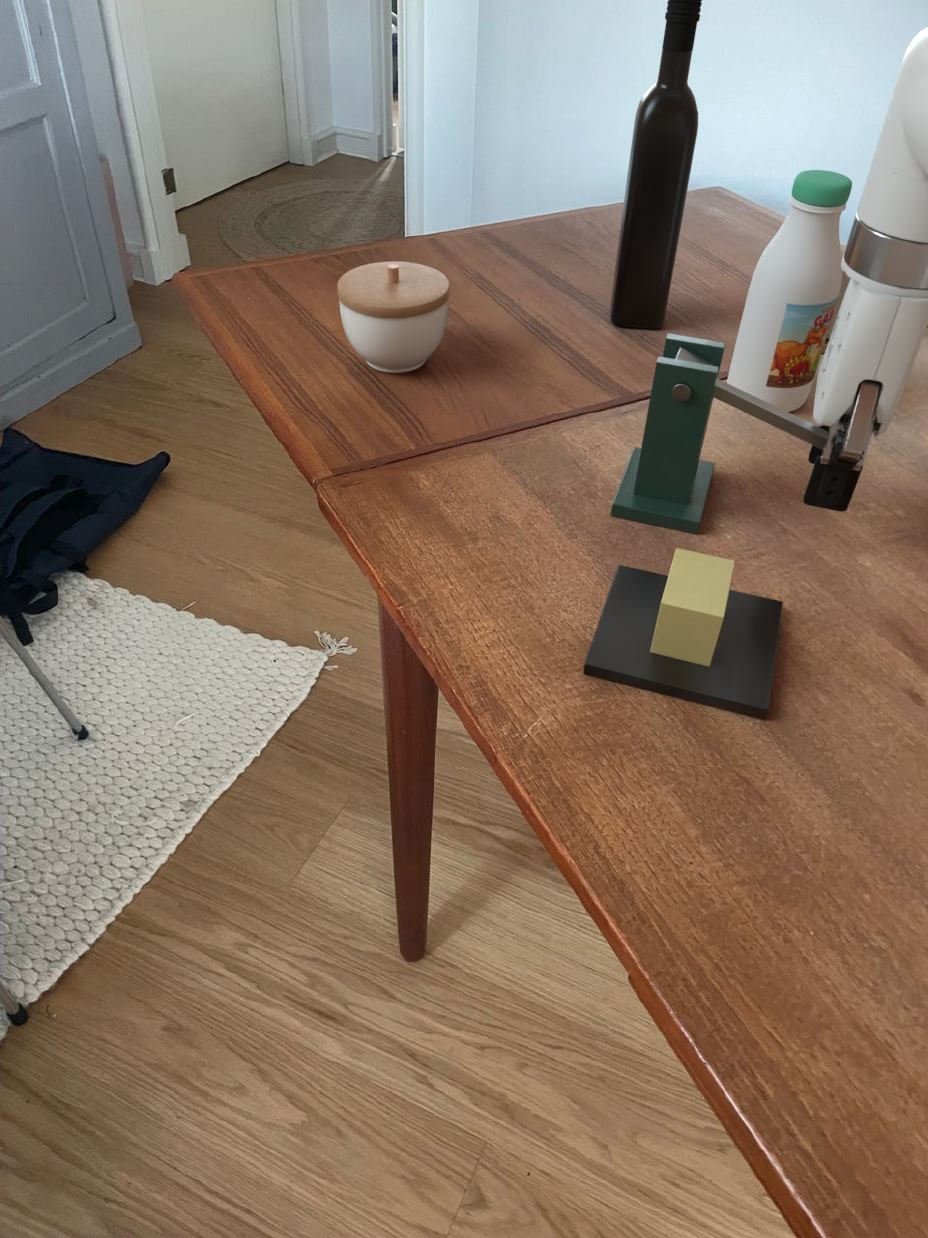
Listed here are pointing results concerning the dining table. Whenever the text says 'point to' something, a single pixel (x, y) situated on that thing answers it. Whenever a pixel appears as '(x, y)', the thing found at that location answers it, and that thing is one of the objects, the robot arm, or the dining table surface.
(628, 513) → the green lever stand
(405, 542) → the dining table surface
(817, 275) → the milk bottle
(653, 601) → the board
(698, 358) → the t-handle lever
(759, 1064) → the dining table surface
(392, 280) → the trinket box
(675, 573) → the butter
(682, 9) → the wine bottle
